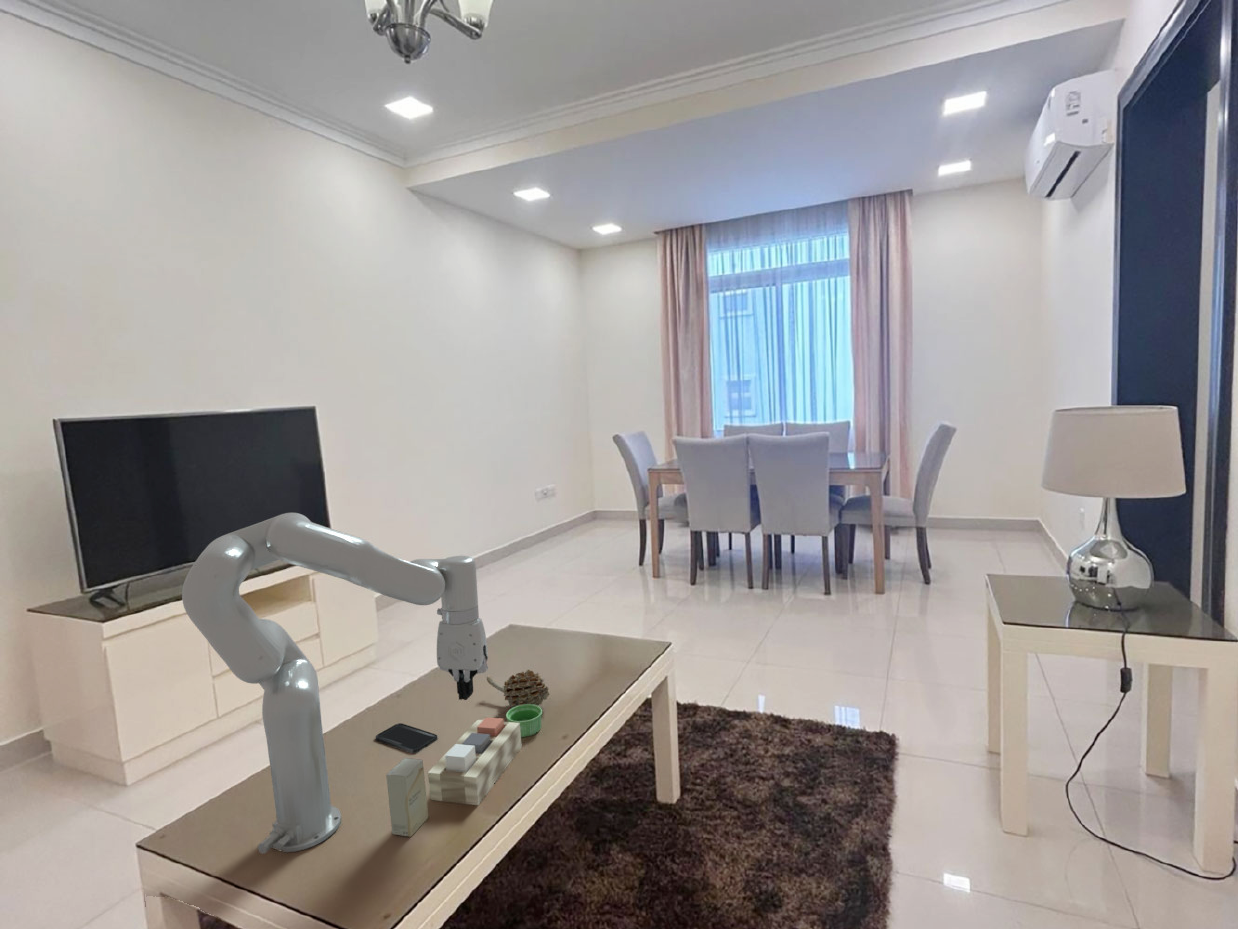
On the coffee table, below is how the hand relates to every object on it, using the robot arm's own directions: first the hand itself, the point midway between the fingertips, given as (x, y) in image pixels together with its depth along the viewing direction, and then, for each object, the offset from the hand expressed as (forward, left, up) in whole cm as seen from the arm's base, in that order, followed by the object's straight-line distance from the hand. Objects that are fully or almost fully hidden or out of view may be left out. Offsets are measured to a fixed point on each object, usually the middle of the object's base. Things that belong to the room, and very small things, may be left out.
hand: (465, 696), depth 137 cm
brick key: (+9, 0, -16) cm, 19 cm away
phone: (+12, +25, -19) cm, 34 cm away
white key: (-5, 0, -15) cm, 16 cm away
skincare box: (-17, +5, -19) cm, 26 cm away
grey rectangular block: (+2, 0, -16) cm, 16 cm away
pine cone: (+33, +5, -19) cm, 38 cm away
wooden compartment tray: (+2, 0, -19) cm, 19 cm away
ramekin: (+21, -3, -19) cm, 29 cm away
